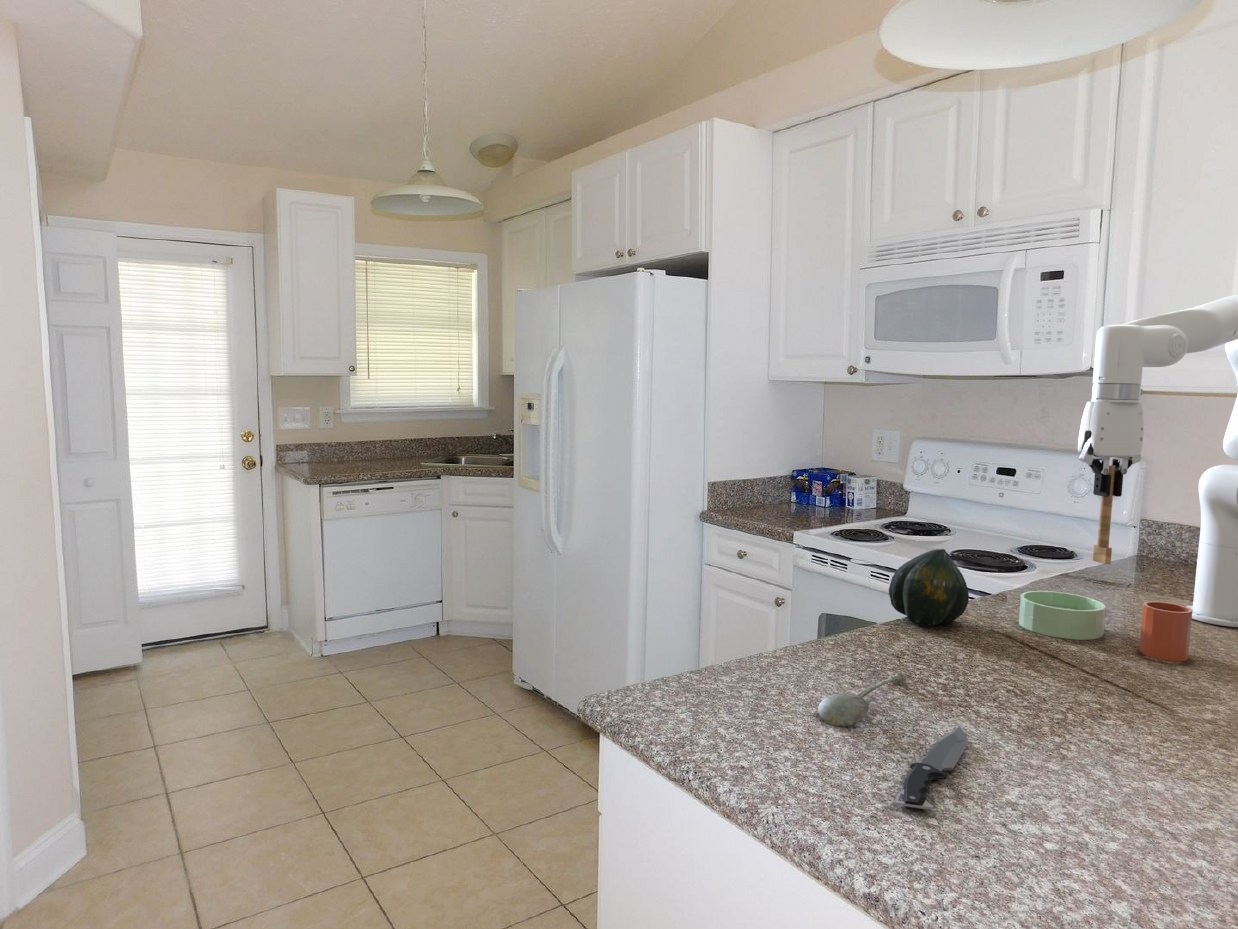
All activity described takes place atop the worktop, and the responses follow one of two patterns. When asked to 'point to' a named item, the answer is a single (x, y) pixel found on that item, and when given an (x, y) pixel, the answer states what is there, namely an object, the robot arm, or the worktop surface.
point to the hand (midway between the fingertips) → (1107, 494)
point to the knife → (931, 769)
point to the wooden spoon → (1105, 525)
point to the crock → (1165, 631)
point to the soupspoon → (850, 704)
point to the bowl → (1062, 615)
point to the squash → (929, 589)
